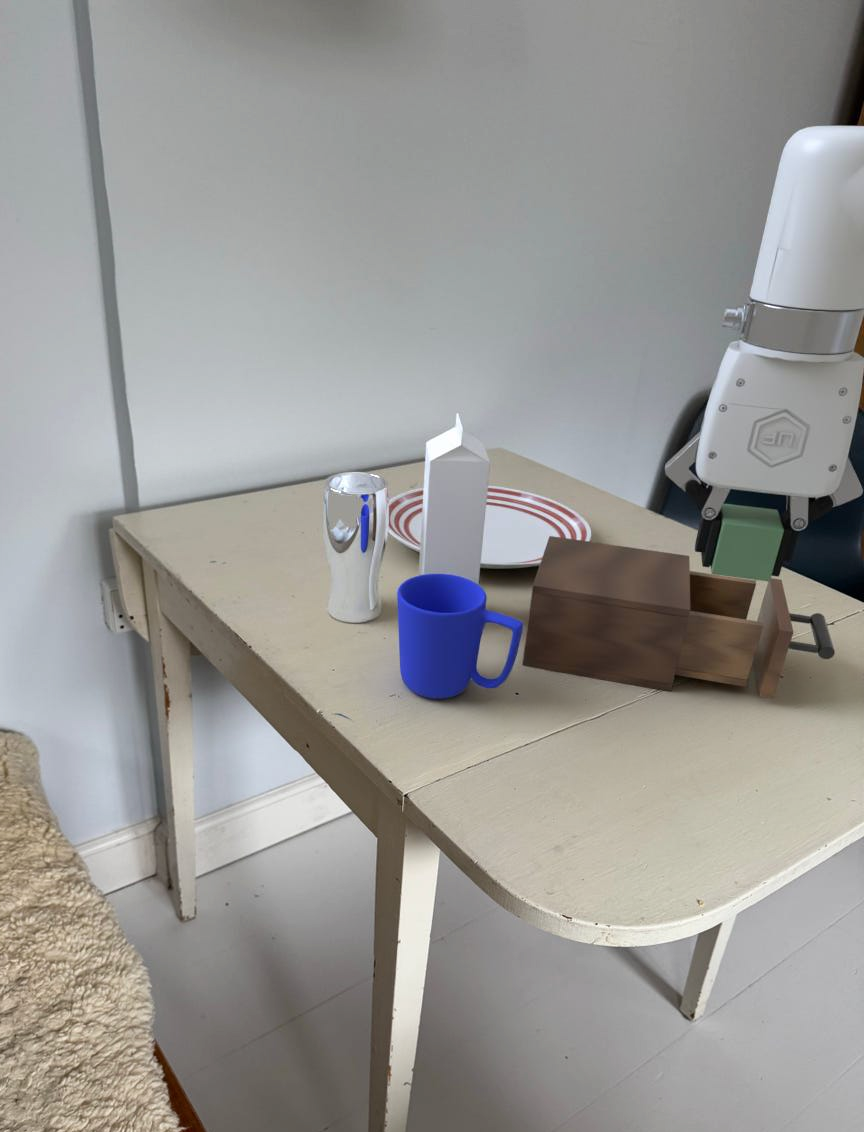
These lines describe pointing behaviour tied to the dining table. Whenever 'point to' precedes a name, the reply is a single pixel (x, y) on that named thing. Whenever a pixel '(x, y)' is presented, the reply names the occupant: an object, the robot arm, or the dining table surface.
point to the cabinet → (609, 612)
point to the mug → (446, 635)
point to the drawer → (742, 633)
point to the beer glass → (355, 543)
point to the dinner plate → (499, 525)
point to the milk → (454, 504)
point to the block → (747, 542)
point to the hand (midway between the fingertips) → (739, 562)
